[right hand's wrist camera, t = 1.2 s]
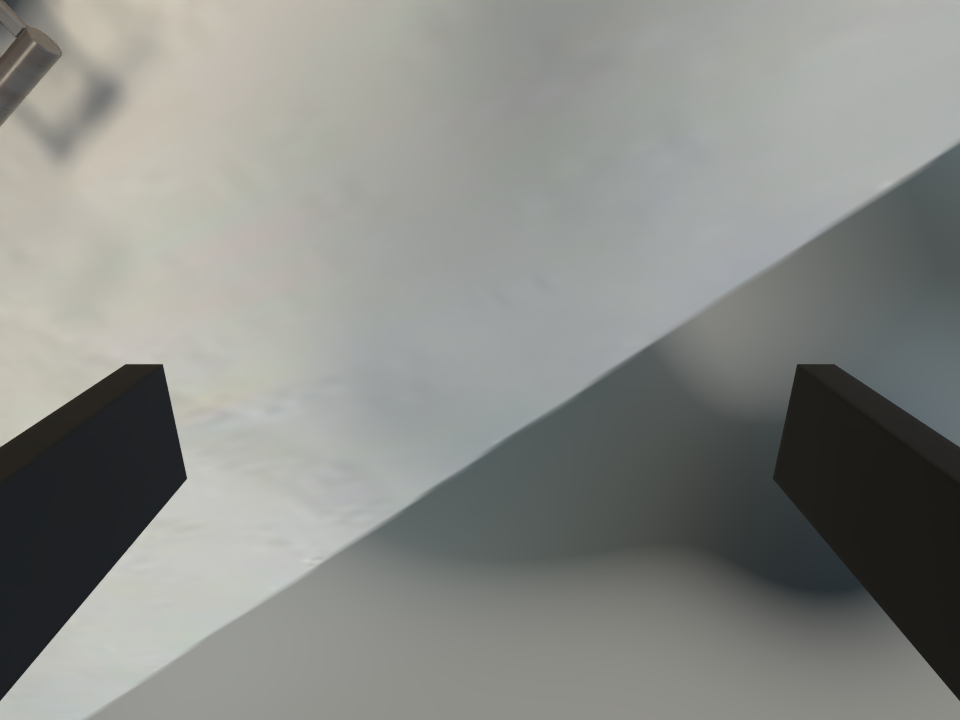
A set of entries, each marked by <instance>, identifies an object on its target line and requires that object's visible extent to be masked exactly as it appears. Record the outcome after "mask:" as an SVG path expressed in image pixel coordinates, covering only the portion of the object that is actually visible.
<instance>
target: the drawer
mask: <svg viewBox="0 0 960 720" xmlns="http://www.w3.org/2000/svg"><path fill="white" fill-rule="evenodd" d="M0 22H1V23H2V24H3V25H4V26H5V27H6V28H7V29H8V30H9V31H10V32H11V33H12V34H13V35H14V36H15V37H17V38H16V40H15V41H14V42H13V43H12V45H11V46H10V47H9V48H8V49H7V51H6V52H5V53H4V54H3V55H2V57H1V58H0V126H1V125H2V124H3V123H4V122H5V121H6V119H7V118H8V117H9V116H10V115H11V114H12V112H13V111H14V110H15V109H16V108H17V107H18V106H19V104H20V103H21V102H22V101H23V100H24V99H25V97H26V96H27V95H28V94H29V93H30V92H31V90H32V89H33V88H34V87H35V86H36V85H37V84H38V82H39V81H40V80H41V79H42V78H43V77H44V75H45V74H46V73H47V72H48V71H49V70H50V68H51V67H52V66H53V65H54V64H55V63H56V61H57V60H58V59H59V58H60V57H61V56H62V51H61V49H60V48H59V46H58V45H57V44H56V43H55V42H54V41H53V40H52V39H51V38H50V37H48V36H47V35H46V34H44V33H43V32H41V31H40V30H38V29H36V28H34V27H31V26H27V25H26V24H25V23H24V22H23V21H22V20H21V18H20V17H19V16H18V15H17V14H16V13H15V12H14V11H13V10H12V9H11V8H10V7H9V6H8V5H7V4H6V3H5V2H4V1H3V0H0Z"/></svg>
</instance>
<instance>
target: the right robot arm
mask: <svg viewBox="0 0 960 720" xmlns="http://www.w3.org/2000/svg"><path fill="white" fill-rule="evenodd" d="M186 479H187V476H186V471H185V467H184V462H183V457H182V453H181V448H180V443H179V439H178V434H177V429H176V424H175V420H174V415H173V410H172V406H171V401H170V396H169V392H168V387H167V382H166V377H165V373H164V368H163V364H125V365H124V366H122V367H121V368H119V369H118V370H116V371H115V372H113V373H112V374H110V375H109V376H107V377H106V378H104V379H103V380H101V381H100V382H98V383H97V384H95V385H94V386H92V387H91V388H89V389H88V390H86V391H85V392H83V393H82V394H80V395H79V396H77V397H76V398H74V399H73V400H71V401H70V402H68V403H67V404H65V405H64V406H62V407H60V408H59V409H57V410H56V411H54V412H53V413H51V414H50V415H48V416H47V417H45V418H44V419H42V420H41V421H39V422H38V423H36V424H35V425H33V426H32V427H30V428H29V429H27V430H26V431H24V432H23V433H21V434H20V435H18V436H17V437H15V438H14V439H12V440H11V441H9V442H8V443H6V444H5V445H3V446H2V447H0V701H1V699H2V698H3V697H4V696H5V695H6V693H7V692H8V691H9V690H10V689H11V688H12V686H13V685H14V684H15V683H16V682H17V680H18V679H19V678H20V677H21V676H22V674H23V673H24V672H25V671H26V670H27V668H28V667H29V666H30V665H31V664H32V663H33V661H34V660H35V659H36V658H37V657H38V655H39V654H40V653H41V652H42V651H43V649H44V648H45V647H46V646H47V645H48V643H49V642H50V641H51V640H52V639H53V638H54V636H55V635H56V634H57V633H58V632H59V630H60V629H61V628H62V627H63V626H64V624H65V623H66V622H67V621H68V620H69V618H70V617H71V616H72V615H73V614H74V613H75V611H76V610H77V609H78V608H79V607H80V605H81V604H82V603H83V602H84V601H85V599H86V598H87V597H88V596H89V595H90V593H91V592H92V591H93V590H94V589H95V588H96V586H97V585H98V584H99V583H100V582H101V580H102V579H103V578H104V577H105V576H106V574H107V573H108V572H109V571H110V570H111V569H112V567H113V566H114V565H115V564H116V563H117V561H118V560H119V559H120V558H121V557H122V555H123V554H124V553H125V552H126V551H127V549H128V548H129V547H130V546H131V545H132V544H133V542H134V541H135V540H136V539H137V538H138V536H139V535H140V534H141V533H142V532H143V530H144V529H145V528H146V527H147V526H148V524H149V523H150V522H151V521H152V520H153V519H154V517H155V516H156V515H157V514H158V513H159V511H160V510H161V509H162V508H163V507H164V505H165V504H166V503H167V502H168V501H169V499H170V498H171V497H172V496H173V495H174V494H175V492H176V491H177V490H178V489H179V488H180V486H181V485H182V484H183V483H184V482H185V480H186ZM773 479H774V480H775V482H776V483H777V484H778V485H779V486H780V488H781V489H782V490H783V491H784V492H785V494H786V495H787V496H788V497H789V498H790V499H791V501H792V502H793V503H794V504H795V505H796V507H797V508H798V509H799V510H800V511H801V513H802V514H803V515H804V516H805V517H806V518H807V520H808V521H809V522H810V523H811V524H812V526H813V527H814V528H815V529H816V530H817V532H818V533H819V534H820V535H821V536H822V538H823V539H824V540H825V541H826V542H827V543H828V545H829V546H830V547H831V548H832V549H833V551H834V552H835V553H836V554H837V555H838V557H839V558H840V559H841V560H842V561H843V563H844V564H845V565H846V566H847V567H848V568H849V570H850V571H851V572H852V573H853V574H854V576H855V577H856V578H857V579H858V580H859V582H860V583H861V584H862V585H863V586H864V588H865V589H866V590H867V591H868V592H869V593H870V595H871V596H872V597H873V598H874V599H875V601H876V602H877V603H878V604H879V605H880V607H881V608H882V609H883V610H884V611H885V613H886V614H887V615H888V616H889V617H890V618H891V620H892V621H893V622H894V623H895V624H896V626H897V627H898V628H899V629H900V630H901V632H902V633H903V634H904V635H905V636H906V638H907V639H908V640H909V641H910V642H911V643H912V645H913V646H914V647H915V648H916V649H917V651H918V652H919V653H920V654H921V655H922V657H923V658H924V659H925V660H926V661H927V662H928V664H929V665H930V666H931V667H932V668H933V670H934V671H935V672H936V673H937V674H938V676H939V677H940V678H941V679H942V680H943V682H944V683H945V684H946V685H947V686H948V688H949V689H950V690H951V691H952V692H953V693H954V695H955V696H956V697H957V698H958V699H959V701H960V447H958V446H957V445H955V444H954V443H952V442H951V441H949V440H948V439H946V438H945V437H943V436H942V435H940V434H939V433H937V432H936V431H934V430H933V429H931V428H930V427H928V426H927V425H925V424H924V423H922V422H921V421H919V420H918V419H916V418H915V417H913V416H912V415H910V414H909V413H907V412H906V411H904V410H902V409H901V408H899V407H898V406H896V405H895V404H893V403H892V402H890V401H889V400H887V399H886V398H884V397H883V396H881V395H880V394H878V393H877V392H875V391H874V390H872V389H871V388H869V387H868V386H866V385H865V384H863V383H862V382H860V381H859V380H857V379H856V378H854V377H853V376H851V375H850V374H848V373H847V372H845V371H844V370H842V369H841V368H839V367H838V366H836V365H834V364H798V365H797V368H796V373H795V377H794V382H793V387H792V392H791V396H790V401H789V406H788V410H787V415H786V420H785V424H784V429H783V434H782V439H781V443H780V448H779V453H778V457H777V462H776V467H775V471H774V476H773Z"/></svg>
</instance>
